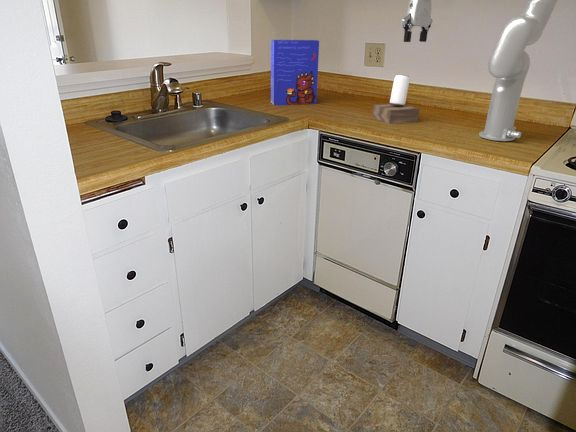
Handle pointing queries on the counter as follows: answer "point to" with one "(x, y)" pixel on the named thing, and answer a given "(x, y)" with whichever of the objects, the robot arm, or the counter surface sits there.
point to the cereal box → (294, 71)
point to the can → (399, 90)
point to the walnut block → (395, 113)
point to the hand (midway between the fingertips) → (414, 41)
